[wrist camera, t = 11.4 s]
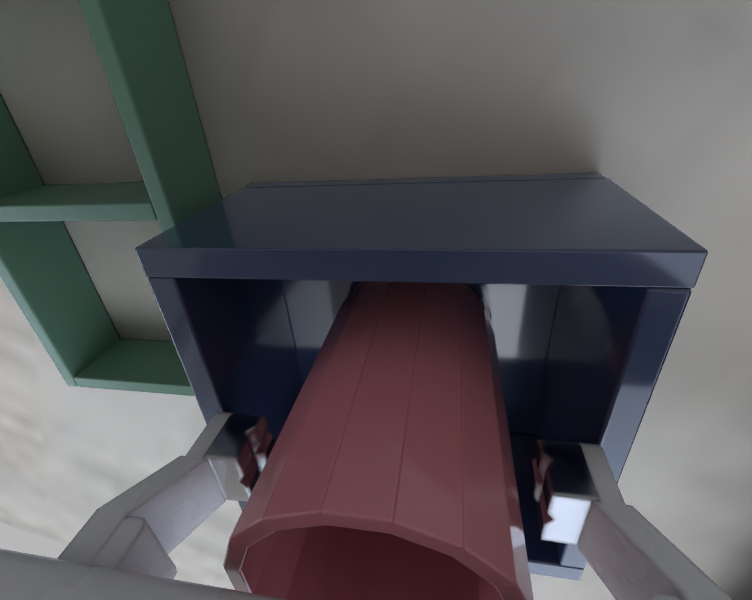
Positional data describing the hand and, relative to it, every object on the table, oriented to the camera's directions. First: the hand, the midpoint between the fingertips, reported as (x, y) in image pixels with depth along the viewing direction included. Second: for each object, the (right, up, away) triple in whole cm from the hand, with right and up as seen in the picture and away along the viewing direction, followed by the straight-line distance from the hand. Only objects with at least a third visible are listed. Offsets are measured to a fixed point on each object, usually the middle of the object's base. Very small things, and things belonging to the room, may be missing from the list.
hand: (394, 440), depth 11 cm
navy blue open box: (+1, +3, +5) cm, 6 cm away
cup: (+1, +3, +5) cm, 6 cm away
